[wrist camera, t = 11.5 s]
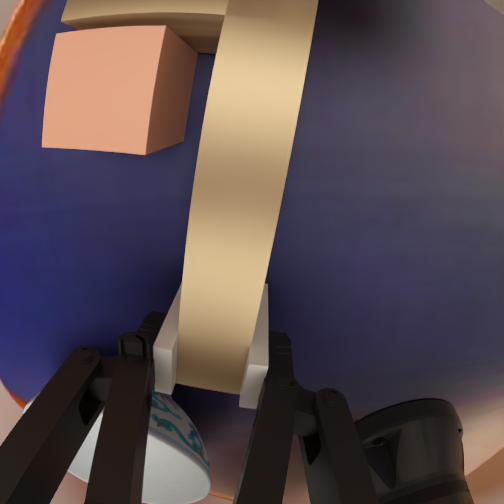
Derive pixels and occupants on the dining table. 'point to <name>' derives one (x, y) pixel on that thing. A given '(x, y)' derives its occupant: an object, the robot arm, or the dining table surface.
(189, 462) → the chinaware
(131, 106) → the block
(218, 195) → the crook
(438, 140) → the dining table surface
